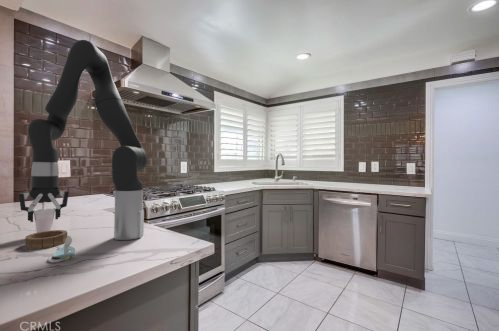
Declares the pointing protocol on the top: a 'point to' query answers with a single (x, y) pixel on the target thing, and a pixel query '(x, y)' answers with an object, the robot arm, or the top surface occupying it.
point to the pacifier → (63, 252)
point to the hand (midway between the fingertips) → (44, 220)
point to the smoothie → (44, 218)
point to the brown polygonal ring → (45, 239)
